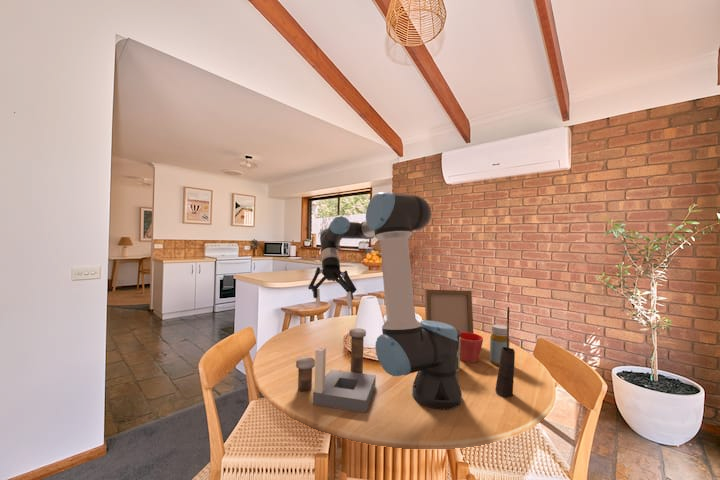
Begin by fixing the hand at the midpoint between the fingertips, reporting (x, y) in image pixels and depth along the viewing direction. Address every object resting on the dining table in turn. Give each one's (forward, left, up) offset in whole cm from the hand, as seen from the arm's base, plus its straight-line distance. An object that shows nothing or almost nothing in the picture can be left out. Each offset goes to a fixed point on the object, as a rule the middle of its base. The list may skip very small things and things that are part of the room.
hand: (334, 306), depth 116 cm
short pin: (-10, +19, -22) cm, 31 cm away
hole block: (-21, +11, -22) cm, 33 cm away
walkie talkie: (-54, -29, -22) cm, 65 cm away
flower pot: (-32, -47, -23) cm, 61 cm away
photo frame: (-13, -61, -23) cm, 66 cm away
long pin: (-13, -1, -22) cm, 26 cm away
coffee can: (-30, -33, -23) cm, 50 cm away
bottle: (-42, -53, -22) cm, 71 cm away
